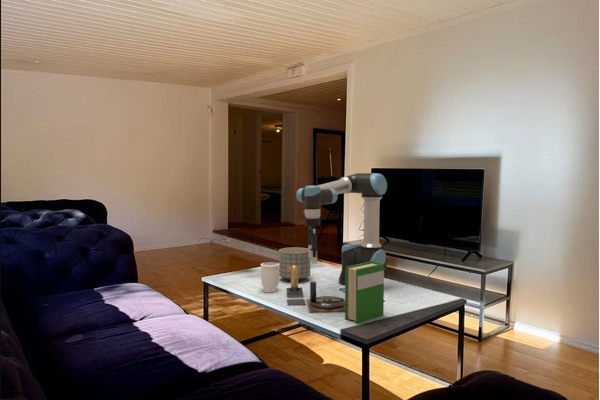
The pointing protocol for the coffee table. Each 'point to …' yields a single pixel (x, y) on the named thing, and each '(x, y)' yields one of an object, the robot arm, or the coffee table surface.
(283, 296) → the coffee table surface
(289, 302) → the pad
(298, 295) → the eye block
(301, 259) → the planter
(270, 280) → the jar
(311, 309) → the wheel base
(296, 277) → the hook peg
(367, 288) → the hardback book
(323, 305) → the handwheel
